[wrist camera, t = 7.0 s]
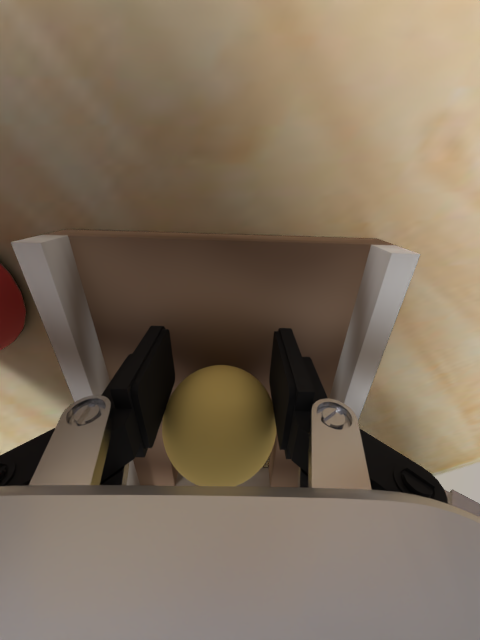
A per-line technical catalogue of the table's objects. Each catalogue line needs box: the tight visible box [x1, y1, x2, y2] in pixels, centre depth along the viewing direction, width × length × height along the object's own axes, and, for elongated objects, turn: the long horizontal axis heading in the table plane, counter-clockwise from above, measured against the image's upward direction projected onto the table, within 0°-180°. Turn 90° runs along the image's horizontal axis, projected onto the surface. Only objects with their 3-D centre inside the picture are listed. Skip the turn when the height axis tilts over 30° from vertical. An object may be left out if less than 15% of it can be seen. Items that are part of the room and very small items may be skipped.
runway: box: [11, 229, 420, 487], centre depth 14 cm, size 20×14×5 cm
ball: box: [162, 365, 276, 486], centre depth 11 cm, size 5×5×5 cm
